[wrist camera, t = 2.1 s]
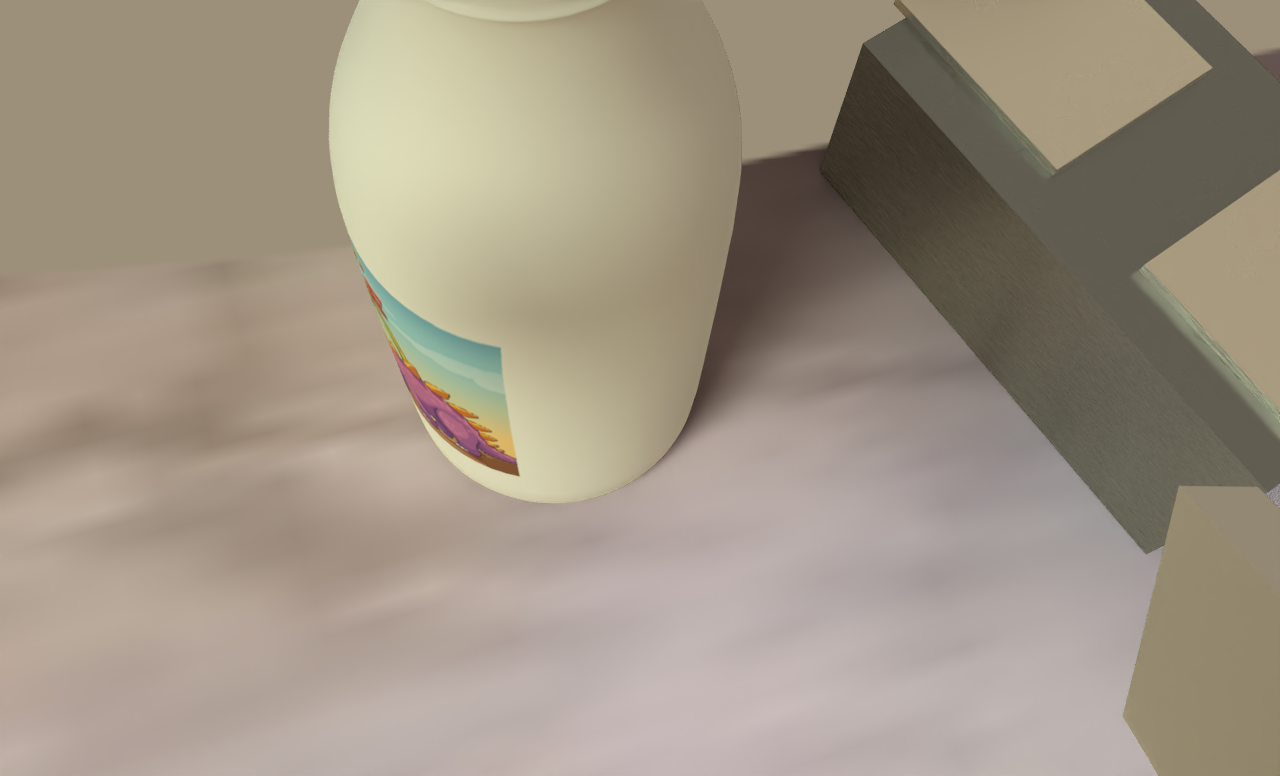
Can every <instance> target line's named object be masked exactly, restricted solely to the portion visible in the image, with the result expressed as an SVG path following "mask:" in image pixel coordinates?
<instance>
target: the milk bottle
mask: <svg viewBox="0 0 1280 776" xmlns="http://www.w3.org/2000/svg"><path fill="white" fill-rule="evenodd" d="M741 146H742V145H741V117H740V109H739V102H738V98H737V91H736V86H735V81H734V77H733V73H732V69H731V66H730V64H729V60H728V58H727V55H726V52H725V49H724V46H723V44H722V41H721V38H720V35H719V33H718V31H717V29H716V27H715V25H714V23H713V21H712V19H711V17H710V15H709V14H708V11H707V10H706V8H705V6H704V4H703V2H702V1H701V0H359V3H358V5H357V7H356V9H355V12H354V14H353V16H352V19H351V21H350V24H349V27H348V29H347V32H346V34H345V38H344V40H343V43H342V46H341V48H340V51H339V55H338V59H337V63H336V67H335V73H334V78H333V83H332V90H331V98H330V112H329V147H330V157H331V164H332V171H333V178H334V185H335V190H336V194H337V199H338V203H339V206H340V209H341V212H342V215H343V219H344V222H345V225H346V228H347V232H348V235H349V238H350V241H351V244H352V247H353V250H354V253H355V256H356V259H357V262H358V265H359V268H360V270H361V273H362V275H363V278H364V280H365V283H366V286H367V288H368V291H369V293H370V296H371V299H372V301H373V304H374V306H375V309H376V311H377V314H378V317H379V319H380V322H381V324H382V327H383V329H384V332H385V334H386V337H387V339H388V342H389V344H390V346H391V349H392V351H393V354H394V356H395V359H396V361H397V364H398V366H399V368H400V371H401V373H402V376H403V378H404V381H405V383H406V385H407V388H408V390H409V392H410V395H411V397H412V400H413V402H414V404H415V407H416V409H417V411H418V413H419V415H420V417H421V420H422V421H423V423H424V425H425V427H426V429H427V431H428V433H429V434H430V436H431V437H432V439H433V441H434V442H435V444H436V445H437V446H438V448H439V449H440V450H441V452H442V453H443V454H444V455H445V456H446V457H447V458H448V459H449V461H450V462H451V463H452V464H453V465H455V466H456V467H457V468H458V469H459V470H460V471H462V472H463V473H464V474H465V475H467V476H468V477H470V478H471V479H473V480H474V481H476V482H478V483H479V484H481V485H483V486H485V487H486V488H489V489H491V490H493V491H495V492H498V493H500V494H503V495H506V496H509V497H512V498H516V499H521V500H525V501H531V502H539V503H568V502H576V501H582V500H587V499H591V498H595V497H599V496H602V495H604V494H607V493H610V492H613V491H615V490H617V489H619V488H621V487H623V486H625V485H627V484H629V483H630V482H632V481H634V480H635V479H637V478H638V477H640V476H641V475H642V474H644V473H645V472H646V471H648V470H649V469H650V468H651V467H652V466H654V465H655V464H656V463H657V462H658V461H659V460H660V459H661V458H662V457H663V456H664V454H665V453H666V452H667V451H668V450H669V449H670V447H671V446H672V445H673V443H674V442H675V440H676V439H677V437H678V436H679V434H680V432H681V431H682V429H683V427H684V425H685V423H686V420H687V418H688V416H689V413H690V410H691V407H692V404H693V401H694V398H695V395H696V392H697V389H698V385H699V381H700V376H701V372H702V368H703V364H704V360H705V355H706V351H707V347H708V342H709V338H710V334H711V329H712V325H713V321H714V316H715V312H716V308H717V303H718V298H719V294H720V289H721V284H722V280H723V275H724V270H725V265H726V261H727V256H728V251H729V246H730V242H731V237H732V232H733V227H734V220H735V213H736V206H737V200H738V193H739V186H740V177H741V168H742V150H741V149H742V147H741Z"/></svg>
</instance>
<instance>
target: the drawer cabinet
mask: <svg viewBox="0 0 1280 776" xmlns="http://www.w3.org/2000/svg"><path fill="white" fill-rule="evenodd" d="M894 5H895V6H896V7H897V8H898V9H899V10H900V12H901V13H902V14H903V15H904V16H905V17H906V18H905V19H903V20H902V21H900V22H898V23H897V24H895V25H893V26H892V27H890V28H888V29H886V30H885V31H883V32H881V33H880V34H878V35H876V36H875V37H873V38H871V39H870V40H868V41H866V42H865V43H863V45H862V48H861V51H860V54H859V57H858V60H857V63H856V66H855V69H854V72H853V75H852V77H851V80H850V84H849V86H848V89H847V92H846V95H845V98H844V101H843V104H842V107H841V110H840V113H839V116H838V119H837V122H836V125H835V127H834V130H833V133H832V136H831V139H830V142H829V145H828V148H827V151H826V154H825V157H824V160H823V163H822V165H821V168H820V171H821V173H822V174H823V175H824V176H825V177H826V178H827V180H828V181H829V182H830V183H831V184H832V185H833V187H834V188H835V189H836V190H837V191H838V193H839V194H840V195H841V196H842V197H843V198H844V200H845V201H846V202H847V203H848V204H849V205H850V207H851V208H852V209H853V210H854V211H855V212H856V214H857V215H858V216H859V217H860V218H861V220H862V221H863V222H864V223H865V224H866V225H867V227H868V228H869V229H870V230H871V231H872V232H873V234H874V235H875V236H876V237H877V238H878V240H879V241H880V242H881V243H882V244H883V245H884V247H885V248H886V249H887V250H888V251H889V252H890V254H891V255H892V256H893V257H894V258H895V260H896V261H897V262H898V263H899V264H900V265H901V267H902V268H903V269H904V270H905V271H906V272H907V274H908V275H909V276H910V277H911V278H912V279H913V281H914V282H915V283H916V284H917V285H918V287H919V288H920V289H921V290H922V291H923V292H924V294H925V295H926V296H927V297H928V298H929V299H930V301H931V302H932V303H933V304H934V305H935V307H936V308H937V309H938V310H939V311H940V312H941V314H942V315H943V316H944V317H945V318H946V319H947V321H948V322H949V323H950V324H951V325H952V326H953V328H954V329H955V330H956V331H957V332H958V334H959V335H960V336H961V337H962V338H963V339H964V341H965V342H966V343H967V344H968V345H969V346H970V348H971V349H972V350H973V351H974V352H975V354H976V355H977V356H978V357H979V358H980V359H981V361H982V362H983V363H984V364H985V365H986V366H987V368H988V369H989V370H990V371H991V372H992V374H993V375H994V376H995V377H996V378H997V379H998V381H999V382H1000V383H1001V384H1002V385H1003V386H1004V388H1005V389H1006V390H1007V391H1008V392H1009V393H1010V395H1011V396H1012V397H1013V398H1014V399H1015V401H1016V402H1017V403H1018V404H1019V405H1020V406H1021V408H1022V409H1023V410H1024V411H1025V412H1026V413H1027V415H1028V416H1029V417H1030V418H1031V419H1032V421H1033V422H1034V423H1035V424H1036V425H1037V426H1038V428H1039V429H1040V430H1041V431H1042V432H1043V433H1044V435H1045V436H1046V437H1047V438H1048V439H1049V440H1050V442H1051V443H1052V444H1053V445H1054V446H1055V448H1056V449H1057V450H1058V451H1059V452H1060V453H1061V455H1062V456H1063V457H1064V458H1065V459H1066V460H1067V462H1068V463H1069V464H1070V465H1071V466H1072V468H1073V469H1074V470H1075V471H1076V472H1077V473H1078V475H1079V476H1080V477H1081V478H1082V479H1083V480H1084V482H1085V483H1086V484H1087V485H1088V486H1089V488H1090V489H1091V490H1092V491H1093V492H1094V493H1095V495H1096V496H1097V497H1098V498H1099V499H1100V500H1101V502H1102V503H1103V504H1104V505H1105V506H1106V507H1107V509H1108V510H1109V511H1110V512H1111V513H1112V515H1113V516H1114V517H1115V518H1116V519H1117V520H1118V522H1119V523H1120V524H1121V525H1122V526H1123V527H1124V529H1125V530H1126V531H1127V532H1128V533H1129V535H1130V536H1131V537H1132V538H1133V539H1134V540H1135V542H1136V543H1137V544H1138V545H1139V546H1140V547H1141V549H1142V550H1143V551H1144V552H1145V553H1146V554H1148V553H1150V552H1152V551H1154V550H1156V549H1158V548H1160V547H1162V546H1163V545H1165V541H1166V537H1167V533H1168V529H1169V525H1170V520H1171V516H1172V512H1173V508H1174V504H1175V500H1176V496H1177V492H1178V488H1179V486H1229V487H1258V488H1259V489H1260V490H1261V491H1262V492H1263V493H1264V494H1265V493H1267V492H1269V491H1270V490H1271V489H1273V488H1274V487H1275V486H1276V485H1278V484H1279V483H1280V82H1279V81H1278V80H1277V79H1276V78H1275V77H1274V76H1273V75H1272V74H1271V73H1270V72H1269V71H1268V70H1267V69H1266V68H1265V67H1264V66H1263V65H1262V64H1261V63H1260V62H1259V61H1258V60H1256V59H1255V58H1254V57H1253V56H1252V55H1251V54H1250V53H1249V52H1248V51H1247V50H1246V49H1245V48H1244V47H1243V46H1242V45H1241V44H1240V43H1239V42H1238V41H1237V40H1236V39H1235V38H1234V37H1233V36H1232V35H1231V34H1230V33H1229V32H1228V31H1227V30H1226V29H1225V28H1224V27H1223V26H1222V25H1221V24H1219V22H1217V20H1215V19H1214V18H1213V17H1212V16H1211V15H1210V14H1209V13H1208V12H1207V11H1206V10H1205V9H1204V8H1203V7H1202V6H1201V5H1200V4H1199V3H1198V2H1197V1H1196V0H895V2H894Z"/></svg>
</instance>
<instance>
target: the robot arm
mask: <svg viewBox="0 0 1280 776" xmlns="http://www.w3.org/2000/svg"><path fill="white" fill-rule="evenodd" d="M1123 717H1124V719H1125V721H1126V722H1127V724H1128V726H1129V727H1130V729H1131V731H1132V732H1133V734H1134V736H1135V737H1136V739H1137V741H1138V742H1139V744H1140V746H1141V747H1142V749H1143V751H1144V752H1145V754H1146V756H1147V757H1148V759H1149V761H1150V762H1151V764H1152V766H1153V767H1154V769H1155V771H1156V772H1157V774H1158V776H1280V508H1279V507H1278V506H1277V505H1276V504H1275V503H1274V502H1273V501H1272V500H1271V499H1270V498H1268V497H1267V496H1266V495H1265V494H1264V493H1263V492H1262V491H1261V490H1260V489H1259V488H1258V487H1229V486H1179V488H1178V492H1177V496H1176V500H1175V504H1174V508H1173V512H1172V516H1171V520H1170V525H1169V529H1168V533H1167V537H1166V541H1165V545H1164V549H1163V553H1162V557H1161V562H1160V566H1159V570H1158V574H1157V578H1156V582H1155V586H1154V590H1153V594H1152V598H1151V603H1150V607H1149V611H1148V615H1147V619H1146V623H1145V627H1144V631H1143V635H1142V640H1141V644H1140V648H1139V652H1138V656H1137V660H1136V664H1135V668H1134V672H1133V677H1132V681H1131V685H1130V689H1129V693H1128V697H1127V701H1126V705H1125V709H1124V714H1123Z"/></svg>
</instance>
